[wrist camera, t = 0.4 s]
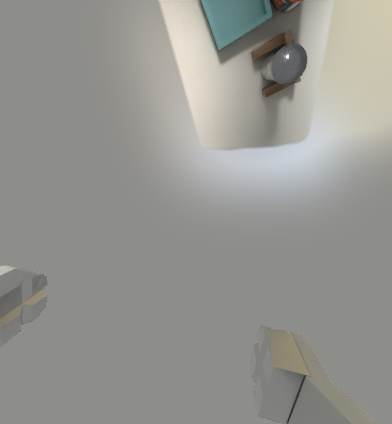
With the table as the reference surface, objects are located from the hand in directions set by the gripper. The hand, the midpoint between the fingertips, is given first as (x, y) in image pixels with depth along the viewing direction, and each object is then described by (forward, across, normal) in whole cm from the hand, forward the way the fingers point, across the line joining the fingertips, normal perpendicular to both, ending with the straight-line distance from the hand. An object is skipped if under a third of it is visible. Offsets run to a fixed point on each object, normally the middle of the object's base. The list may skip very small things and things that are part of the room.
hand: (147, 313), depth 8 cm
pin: (+44, -8, -28) cm, 53 cm away
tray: (+40, +2, -36) cm, 54 cm away
